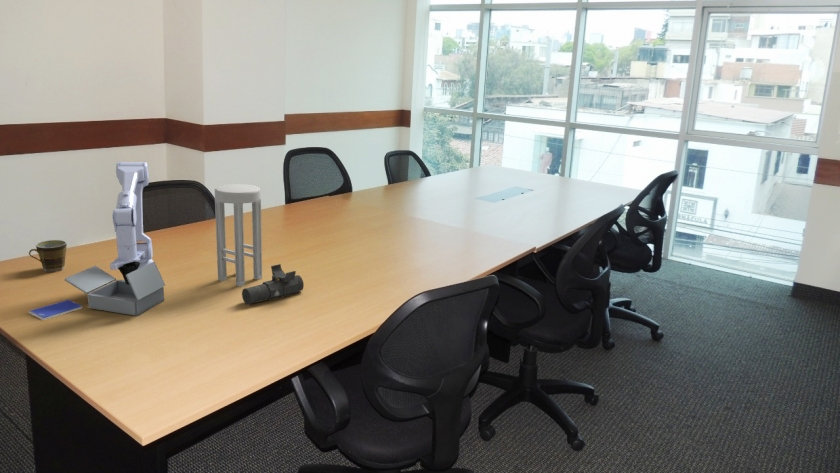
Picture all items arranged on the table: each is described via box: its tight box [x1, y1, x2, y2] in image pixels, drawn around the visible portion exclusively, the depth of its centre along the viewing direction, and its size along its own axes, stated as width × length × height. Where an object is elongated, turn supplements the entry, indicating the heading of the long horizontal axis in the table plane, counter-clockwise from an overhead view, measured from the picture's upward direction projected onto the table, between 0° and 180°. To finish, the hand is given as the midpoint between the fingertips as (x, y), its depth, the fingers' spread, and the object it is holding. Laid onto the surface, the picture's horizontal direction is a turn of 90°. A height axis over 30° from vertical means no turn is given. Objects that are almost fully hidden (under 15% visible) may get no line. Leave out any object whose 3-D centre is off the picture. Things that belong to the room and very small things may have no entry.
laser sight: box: [241, 263, 305, 305], centre depth 226 cm, size 10×22×10 cm, turn 136°
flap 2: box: [126, 260, 166, 300], centre depth 210 cm, size 14×9×1 cm
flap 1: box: [64, 265, 117, 295], centre depth 216 cm, size 14×9×1 cm, turn 166°
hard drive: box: [28, 299, 83, 321], centre depth 207 cm, size 2×8×12 cm
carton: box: [87, 279, 165, 317], centre depth 214 cm, size 15×18×5 cm
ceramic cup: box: [28, 239, 67, 273], centre depth 240 cm, size 13×10×10 cm
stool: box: [214, 183, 263, 287], centre depth 238 cm, size 16×16×35 cm
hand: (129, 284), depth 212 cm, fingers closed
